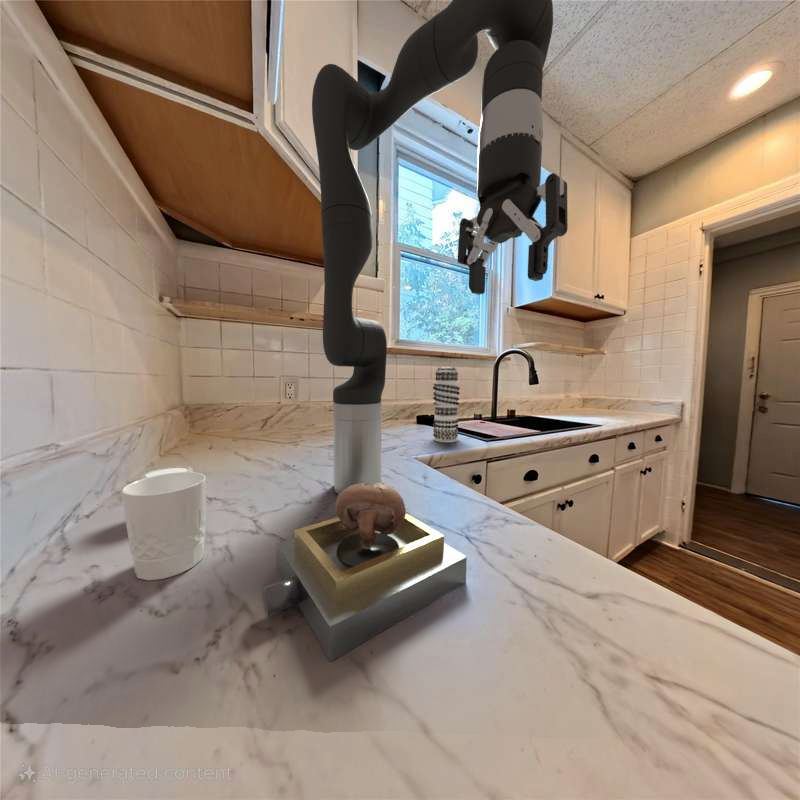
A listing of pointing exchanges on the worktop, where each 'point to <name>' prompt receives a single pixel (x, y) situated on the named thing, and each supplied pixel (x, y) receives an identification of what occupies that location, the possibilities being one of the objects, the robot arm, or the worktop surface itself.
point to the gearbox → (361, 579)
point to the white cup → (165, 523)
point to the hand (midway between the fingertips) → (504, 287)
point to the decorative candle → (446, 405)
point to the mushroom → (370, 510)
